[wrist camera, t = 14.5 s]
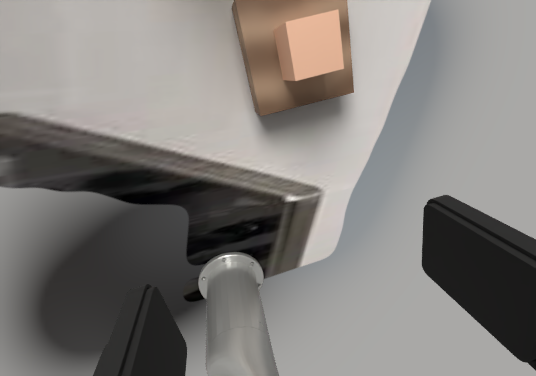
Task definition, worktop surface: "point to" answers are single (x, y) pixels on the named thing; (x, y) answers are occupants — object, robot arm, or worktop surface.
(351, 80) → the walnut stand
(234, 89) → the worktop surface
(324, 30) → the peach cube
